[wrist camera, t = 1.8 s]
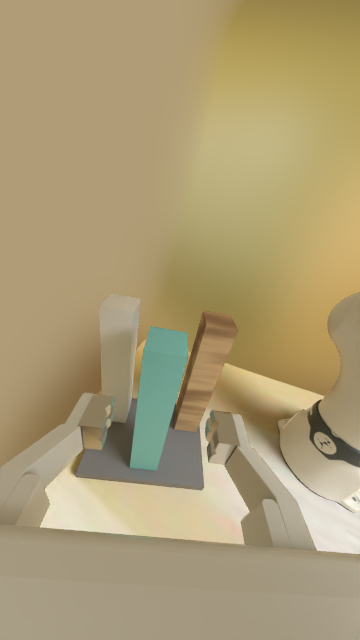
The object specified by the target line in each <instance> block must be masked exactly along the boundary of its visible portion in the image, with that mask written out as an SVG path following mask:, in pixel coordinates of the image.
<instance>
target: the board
mask: <svg viewBox="0 0 360 640" xmlns="http://www.w3.org/2000/svg"><path fill="white" fill-rule="evenodd" d="M137 401H138V399H133V398H132V400H131V406H130V409H129V413H128V416H127V420H126V423H121V422H114V421H112V422H111V425H110V427H108V428H107V436H106V439H105V442H104V445H103V447H102V450H98V449H87V448H86V450H85V452H84V454H83V457H82V459H81V461H80V464H79V466H78V468H77V471H76V473H75V474H76V477H81V478H90V479H100V480H109V481H119V482H129V483H138V484H148V485H157V486H167V487H176V488H186V489H196V490H202V489H203V488H204V481H203V467H202V454H201V441H200V427H199V426H198V429H197V431H196V432H191V431H183V430H176V429H174V428H175V408H176V404H175V406H174V410H173V414H172V417H171V421H170V424H169V428H168V432H167V435H166V439H165V442H164V446H163V450H162V453H161V457H160V461H159V464H158V468H157V471H153V470H144V469H135V468H130V461H131V452H132V444H133V435H134V427H135V418H136V410H137Z"/></svg>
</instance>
